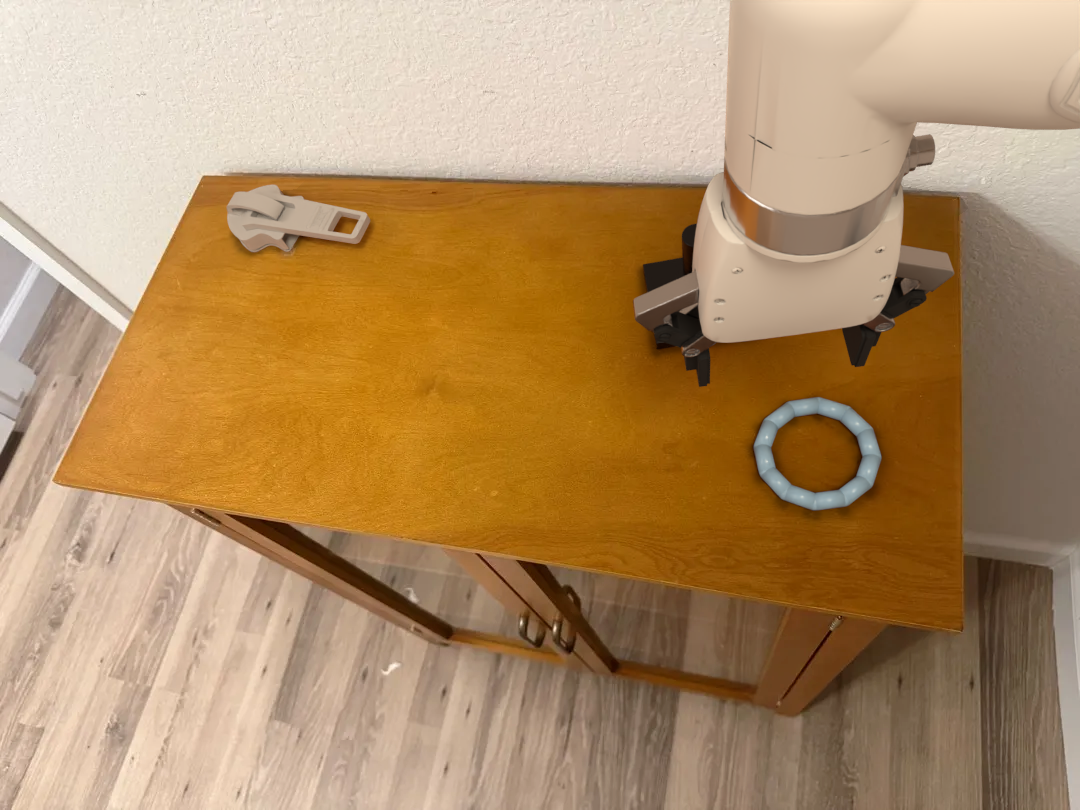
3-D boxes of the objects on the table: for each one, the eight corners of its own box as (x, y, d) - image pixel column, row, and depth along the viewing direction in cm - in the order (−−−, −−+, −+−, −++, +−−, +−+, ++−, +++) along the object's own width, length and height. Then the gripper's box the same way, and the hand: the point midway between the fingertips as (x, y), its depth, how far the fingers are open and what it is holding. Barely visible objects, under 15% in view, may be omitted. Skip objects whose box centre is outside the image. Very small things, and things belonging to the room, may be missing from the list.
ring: (860, 394, 66) (863, 387, 65) (892, 502, 62) (896, 496, 61) (744, 411, 68) (745, 405, 66) (768, 518, 63) (769, 513, 62)
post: (736, 254, 75) (740, 183, 66) (754, 333, 71) (762, 269, 62) (643, 271, 76) (635, 203, 67) (656, 349, 72) (649, 288, 63)
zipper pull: (358, 273, 83) (341, 249, 79) (224, 246, 88) (202, 222, 84) (387, 215, 86) (372, 189, 82) (255, 192, 91) (236, 167, 87)
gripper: (984, 83, 36) (899, 290, 51) (611, 148, 38) (637, 326, 53) (1038, 211, 32) (930, 391, 47) (626, 272, 35) (649, 425, 50)
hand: (775, 357), depth 50 cm, fingers open, 9 cm apart
